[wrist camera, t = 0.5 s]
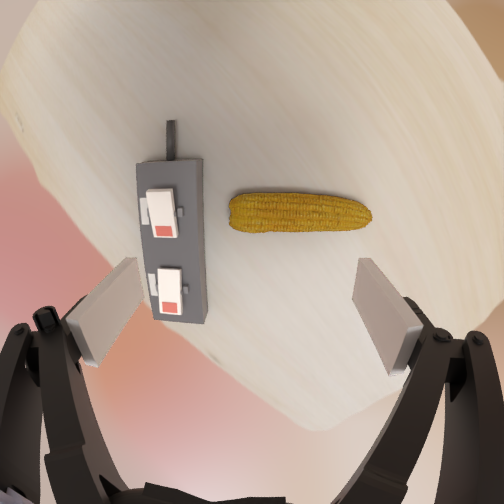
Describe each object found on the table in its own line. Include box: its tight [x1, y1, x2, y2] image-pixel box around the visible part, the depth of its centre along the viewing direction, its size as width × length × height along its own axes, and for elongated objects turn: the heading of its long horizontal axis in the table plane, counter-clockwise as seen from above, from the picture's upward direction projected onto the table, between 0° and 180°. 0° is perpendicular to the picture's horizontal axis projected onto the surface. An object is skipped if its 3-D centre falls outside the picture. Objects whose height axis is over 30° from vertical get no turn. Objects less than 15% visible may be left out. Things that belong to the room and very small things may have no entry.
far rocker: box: [158, 268, 183, 315], centre depth 40 cm, size 7×4×1 cm, turn 178°
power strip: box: [136, 120, 208, 324], centre depth 39 cm, size 32×9×5 cm, turn 179°
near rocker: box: [146, 189, 179, 238], centre depth 35 cm, size 7×4×1 cm, turn 179°
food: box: [229, 193, 372, 233], centre depth 38 cm, size 21×6×6 cm, turn 92°
